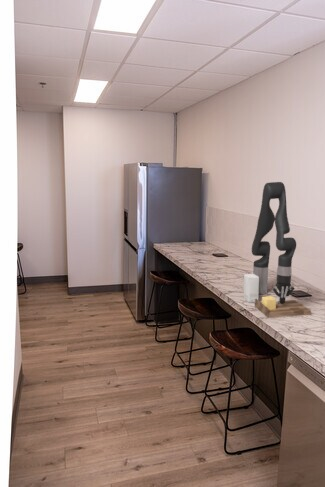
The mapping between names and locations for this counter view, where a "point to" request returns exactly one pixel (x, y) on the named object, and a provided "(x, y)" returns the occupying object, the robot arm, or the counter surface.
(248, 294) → the skincare box
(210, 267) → the counter surface
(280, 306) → the box
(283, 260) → the robot arm
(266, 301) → the mustard block
